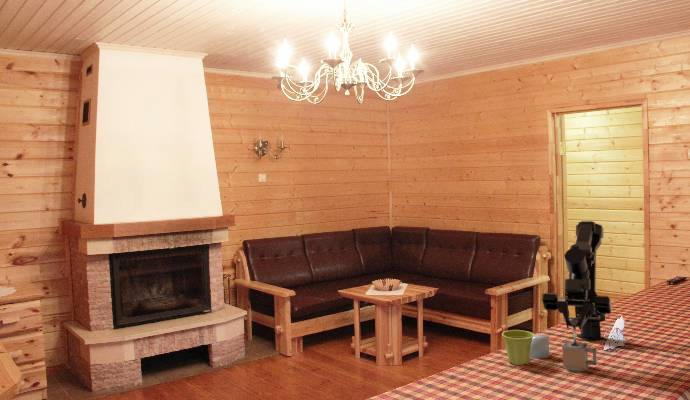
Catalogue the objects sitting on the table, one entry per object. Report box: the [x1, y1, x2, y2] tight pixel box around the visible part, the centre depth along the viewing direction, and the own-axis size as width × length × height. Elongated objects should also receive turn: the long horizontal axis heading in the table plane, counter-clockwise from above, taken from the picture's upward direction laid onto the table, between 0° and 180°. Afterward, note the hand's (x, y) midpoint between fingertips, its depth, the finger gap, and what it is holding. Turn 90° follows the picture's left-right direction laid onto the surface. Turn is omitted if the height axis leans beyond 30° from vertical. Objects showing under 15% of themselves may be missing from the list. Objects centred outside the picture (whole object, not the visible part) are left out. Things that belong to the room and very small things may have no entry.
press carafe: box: [561, 340, 598, 373], centre depth 171 cm, size 7×9×7 cm
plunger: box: [569, 316, 580, 346], centre depth 172 cm, size 3×3×9 cm
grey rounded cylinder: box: [530, 333, 551, 359], centre depth 185 cm, size 6×6×6 cm
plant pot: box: [501, 329, 535, 366], centre depth 180 cm, size 9×9×9 cm
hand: (573, 328), depth 170 cm, fingers closed on plunger, 3 cm apart
